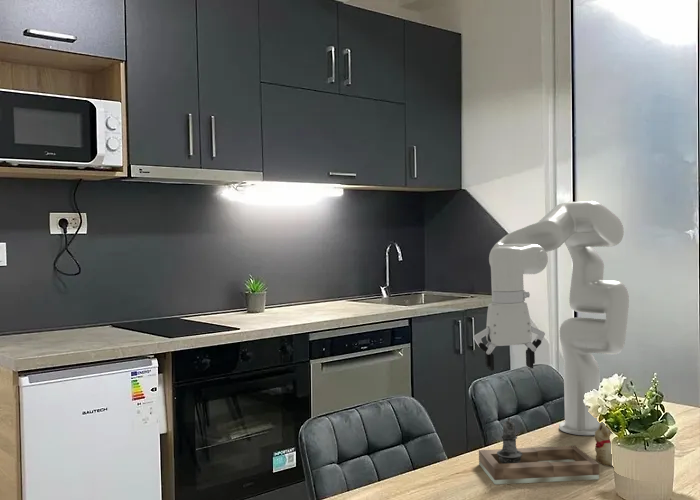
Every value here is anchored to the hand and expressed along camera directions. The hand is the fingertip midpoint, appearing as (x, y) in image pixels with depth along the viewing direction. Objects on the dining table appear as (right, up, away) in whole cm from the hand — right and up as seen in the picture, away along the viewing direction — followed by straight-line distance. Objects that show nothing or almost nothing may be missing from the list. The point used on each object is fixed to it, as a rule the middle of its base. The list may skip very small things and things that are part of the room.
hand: (510, 368), depth 173 cm
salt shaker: (-1, -23, -5) cm, 23 cm away
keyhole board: (+5, -23, -5) cm, 24 cm away
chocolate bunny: (+24, -23, +2) cm, 33 cm away
